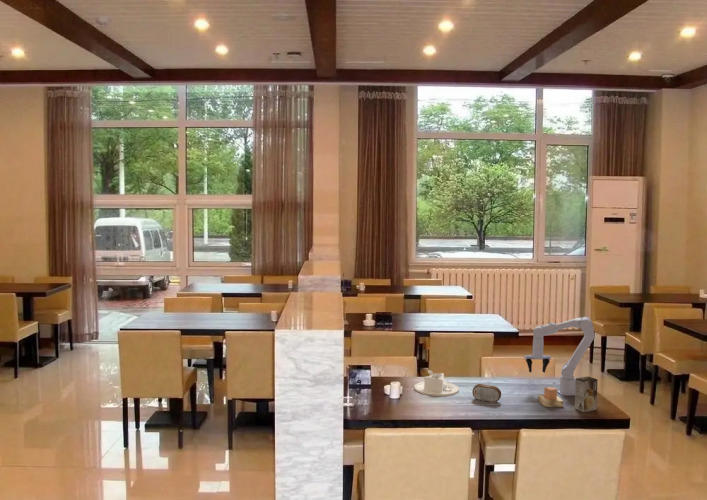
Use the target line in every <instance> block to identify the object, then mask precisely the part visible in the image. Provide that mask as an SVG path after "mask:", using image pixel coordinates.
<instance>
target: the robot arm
mask: <svg viewBox="0 0 707 500" xmlns="http://www.w3.org/2000/svg"><path fill="white" fill-rule="evenodd" d="M572 327H573V328H577V329H579V328H580V329H581V331H582V332H583V335H584V336H583V337H582V339H581V341H580V342H579V344H578V346H577V347H576V349H575V350H574V353H572V355H571V356H570V359H569V360H568V361H567V362H566V363H565V364H563V365H562V367H561V375H560V378H559V389H557V393H559V394H560V396H562V397H563V396H564V397H565V396H566V397H567V396H569V397H570V396H574V397H575V387H576V378H577V377H575V376H574V373H575V370H576V368H577V366H578V365H579V363H580V361H581V359H582V358H583V357H584V354H585V353H586V352H587V350H588V349H589V347H591V346H590V345H591V344H592V342H593V341H594V339H595V331H594V323H593V322H592V319H591V318H590V317H589V316H582V317H577V318H572V319H569V320H566V321H563V322H559V323H556V322H551V321H549V323H547V324H540V325H538V326H537V325H536V327H534V329H533V332H532V333H533V337H532V338H533V339H532V352H531V353H532V354H529V355H528V354H527V355H526V354H525V355H524V356H523V357H524V358H523V359H524V360H525V361H526V363H527V368H528V372H529V373H532V371H533V370H532V367H533V361H532V360H542V373H546V369H547V367H548V365H549V364H550V361H551V360H552V355H545V354H544V341H545V340H544V336H550V335H553V334H557V333H558V332H559V330H560V331H561V330H563V329H564V330H565V329H568V328H572Z"/></svg>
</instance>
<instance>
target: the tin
mask: <svg viewBox="0 0 707 500" xmlns="http://www.w3.org/2000/svg"><path fill="white" fill-rule="evenodd" d="M472 397H474V398H475V400H478V401H482V402H489V403H496V402H498V401H499V400H500V399H501V398H502V392H501V389H500V388H498V387H497V386H495V385H489V384H482V383H478V384H475V386H474V387H473V388H472Z"/></svg>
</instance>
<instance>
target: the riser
mask: <svg viewBox="0 0 707 500" xmlns="http://www.w3.org/2000/svg"><path fill="white" fill-rule="evenodd" d="M537 401H538V402H539V403H540V404H541V405H542V406H543V407H545V408H546V407H547V408H549V407H550V408H552V407H553V408H554V407H555V408H557V407H558V408H559V407H562V408H563V407H564V400H563V399H562V398H561V397H560V396H558V395H557V399H547V398H545V397H544V394H538V395H537Z"/></svg>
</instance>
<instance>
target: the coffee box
mask: <svg viewBox="0 0 707 500" xmlns="http://www.w3.org/2000/svg"><path fill="white" fill-rule="evenodd" d="M575 378H576V387H575V396H574V409H575V410H577V411H578V412H579V411H580V412H582V413H586V412H591V411H596V410H597V403H598V378H594V377H591V376H583V377H582V376H581V377H578V378H577V377H575Z"/></svg>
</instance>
